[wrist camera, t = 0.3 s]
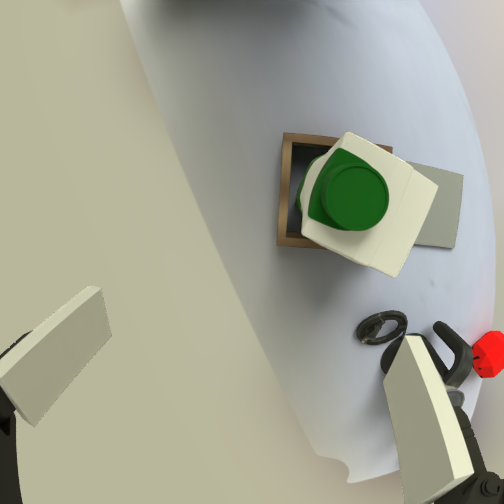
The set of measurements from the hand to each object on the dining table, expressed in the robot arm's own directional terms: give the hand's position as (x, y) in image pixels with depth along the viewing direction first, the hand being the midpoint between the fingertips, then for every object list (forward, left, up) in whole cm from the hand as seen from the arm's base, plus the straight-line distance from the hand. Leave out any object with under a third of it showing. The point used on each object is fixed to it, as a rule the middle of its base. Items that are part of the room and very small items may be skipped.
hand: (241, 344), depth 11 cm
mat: (-5, +23, -26) cm, 35 cm away
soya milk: (-5, +8, -27) cm, 28 cm away
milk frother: (+17, +22, -27) cm, 38 cm away
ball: (+19, +44, -27) cm, 55 cm away
